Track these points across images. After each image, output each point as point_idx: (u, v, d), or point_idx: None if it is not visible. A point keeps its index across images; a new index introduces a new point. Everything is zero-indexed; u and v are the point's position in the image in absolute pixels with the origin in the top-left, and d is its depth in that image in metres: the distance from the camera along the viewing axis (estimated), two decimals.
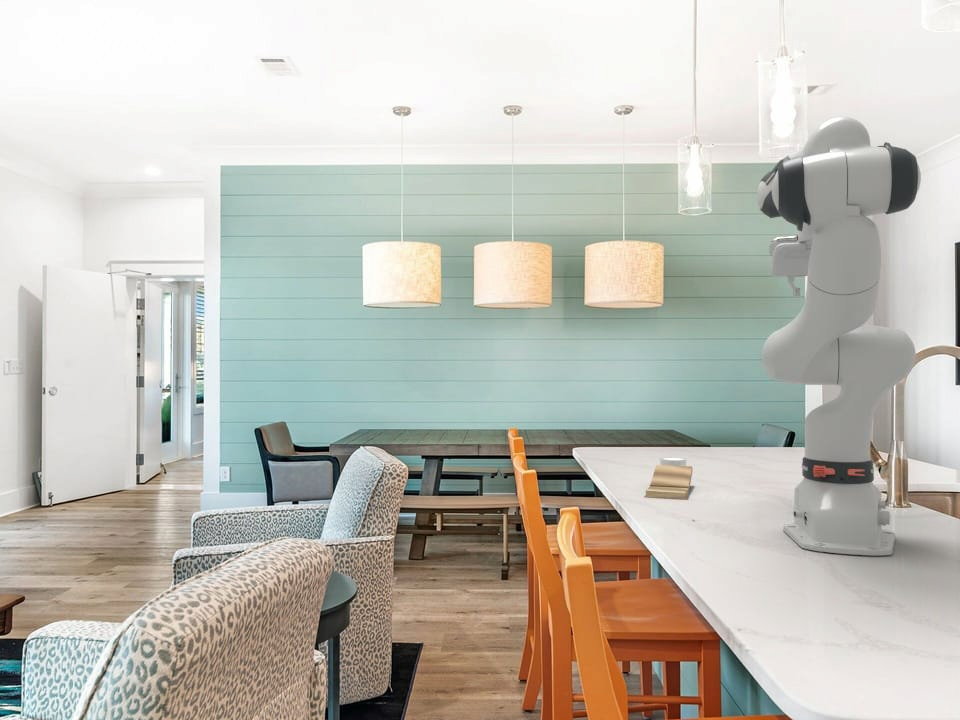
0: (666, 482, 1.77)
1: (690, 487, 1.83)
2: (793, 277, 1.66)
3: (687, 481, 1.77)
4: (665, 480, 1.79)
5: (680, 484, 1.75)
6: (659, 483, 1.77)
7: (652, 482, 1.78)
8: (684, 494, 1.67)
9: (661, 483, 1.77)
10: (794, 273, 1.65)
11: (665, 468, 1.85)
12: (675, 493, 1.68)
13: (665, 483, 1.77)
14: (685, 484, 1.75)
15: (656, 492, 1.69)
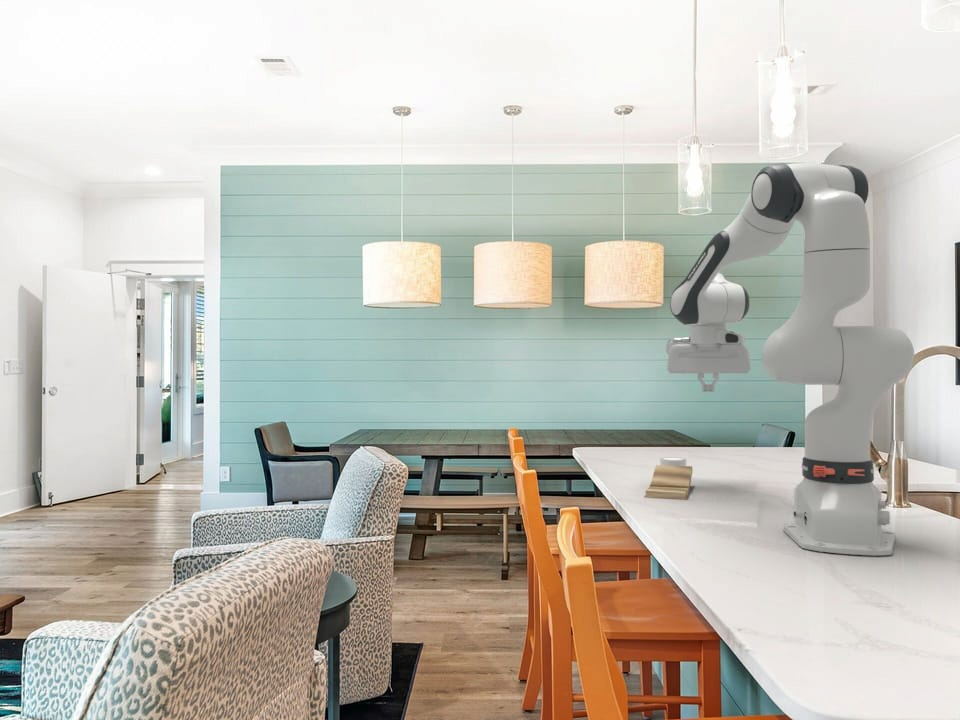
0: (666, 482, 1.77)
1: (690, 487, 1.83)
2: (702, 375, 1.84)
3: (687, 481, 1.77)
4: (665, 480, 1.79)
5: (680, 484, 1.75)
6: (659, 483, 1.77)
7: (652, 482, 1.78)
8: (684, 494, 1.67)
9: (661, 483, 1.77)
10: (686, 372, 1.85)
11: (665, 468, 1.85)
12: (675, 493, 1.68)
13: (665, 483, 1.77)
14: (685, 484, 1.75)
15: (656, 492, 1.69)
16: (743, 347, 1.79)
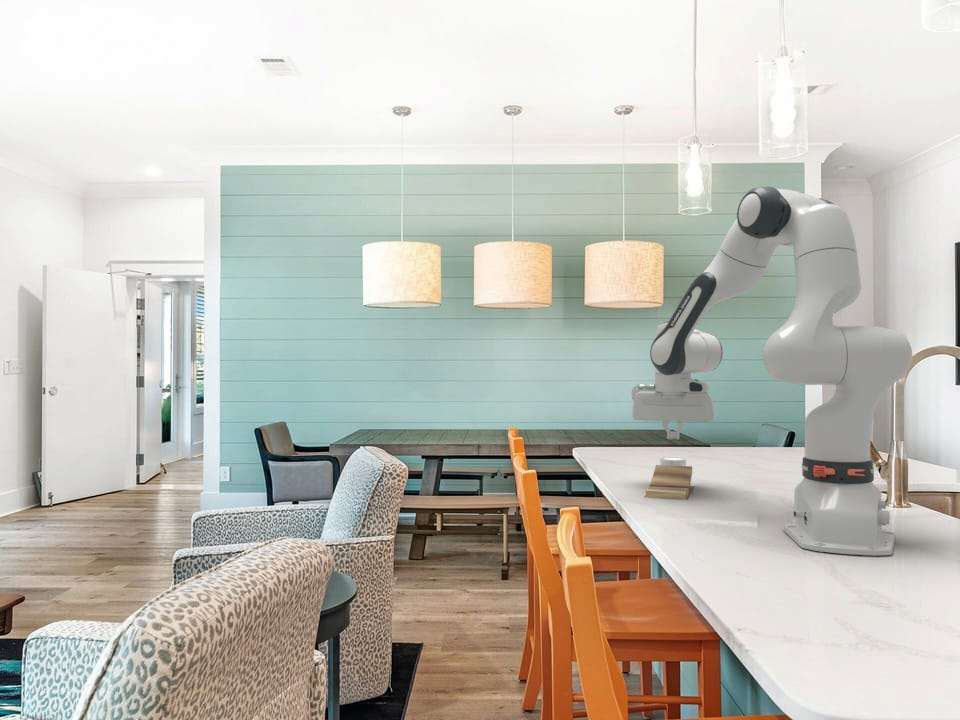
0: (666, 482, 1.77)
1: (690, 487, 1.83)
2: (667, 422, 1.84)
3: (687, 481, 1.77)
4: (665, 480, 1.79)
5: (680, 484, 1.75)
6: (659, 483, 1.77)
7: (652, 482, 1.78)
8: (684, 494, 1.67)
9: (661, 483, 1.77)
10: (651, 419, 1.85)
11: (665, 468, 1.85)
12: (675, 493, 1.68)
13: (665, 483, 1.77)
14: (685, 484, 1.75)
15: (656, 492, 1.69)
16: (707, 396, 1.79)
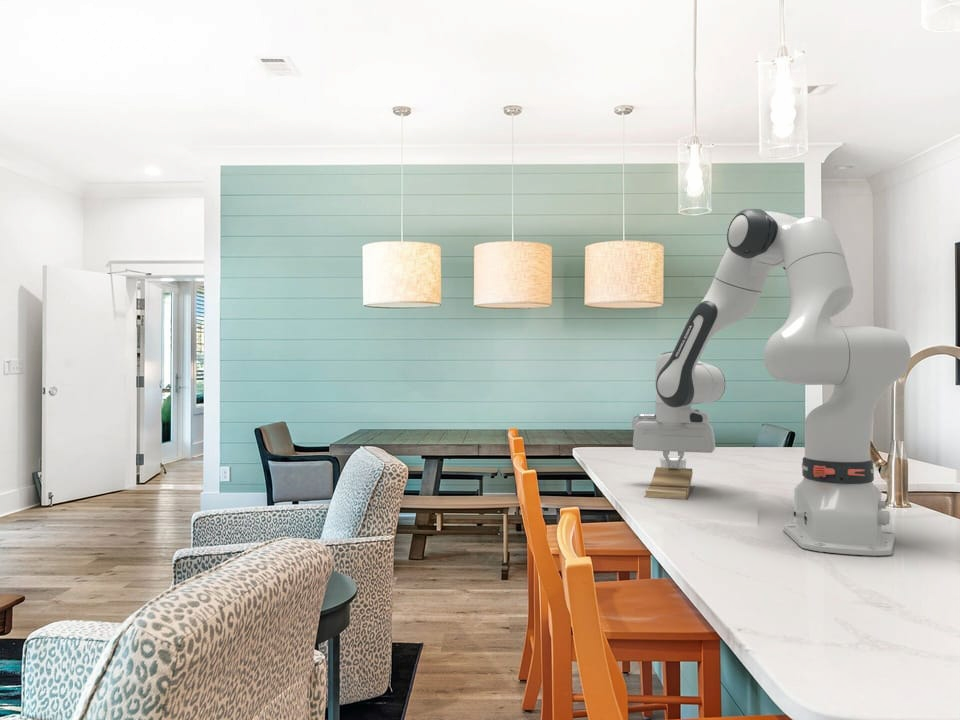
0: (666, 482, 1.77)
1: (690, 487, 1.83)
2: (667, 452, 1.84)
3: (687, 482, 1.77)
4: (665, 480, 1.79)
5: (680, 484, 1.76)
6: (659, 483, 1.77)
7: (652, 482, 1.78)
8: (684, 494, 1.67)
9: (661, 483, 1.77)
10: (651, 449, 1.85)
11: (665, 470, 1.85)
12: (675, 493, 1.68)
13: (665, 483, 1.77)
14: (685, 484, 1.75)
15: (656, 492, 1.69)
16: (707, 427, 1.79)
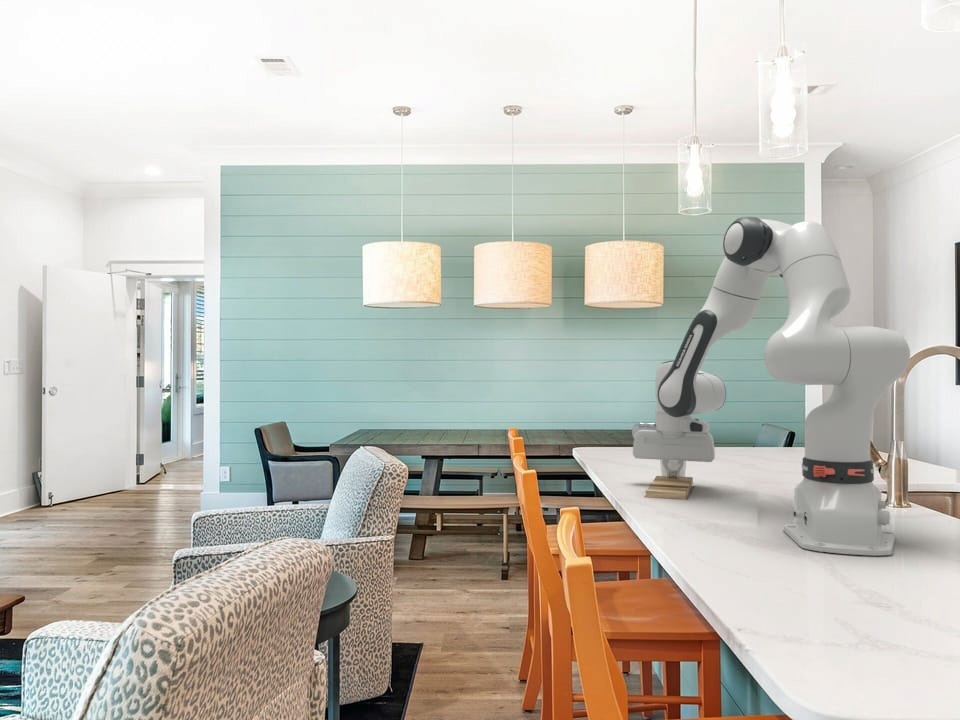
0: (666, 484, 1.78)
1: None
2: (667, 461, 1.85)
3: (687, 484, 1.77)
4: (665, 483, 1.79)
5: (680, 485, 1.76)
6: (659, 484, 1.78)
7: (652, 484, 1.79)
8: (684, 494, 1.67)
9: (661, 484, 1.77)
10: (651, 457, 1.85)
11: (665, 477, 1.85)
12: (675, 493, 1.68)
13: (665, 484, 1.77)
14: (685, 485, 1.76)
15: (656, 492, 1.69)
16: (707, 436, 1.80)
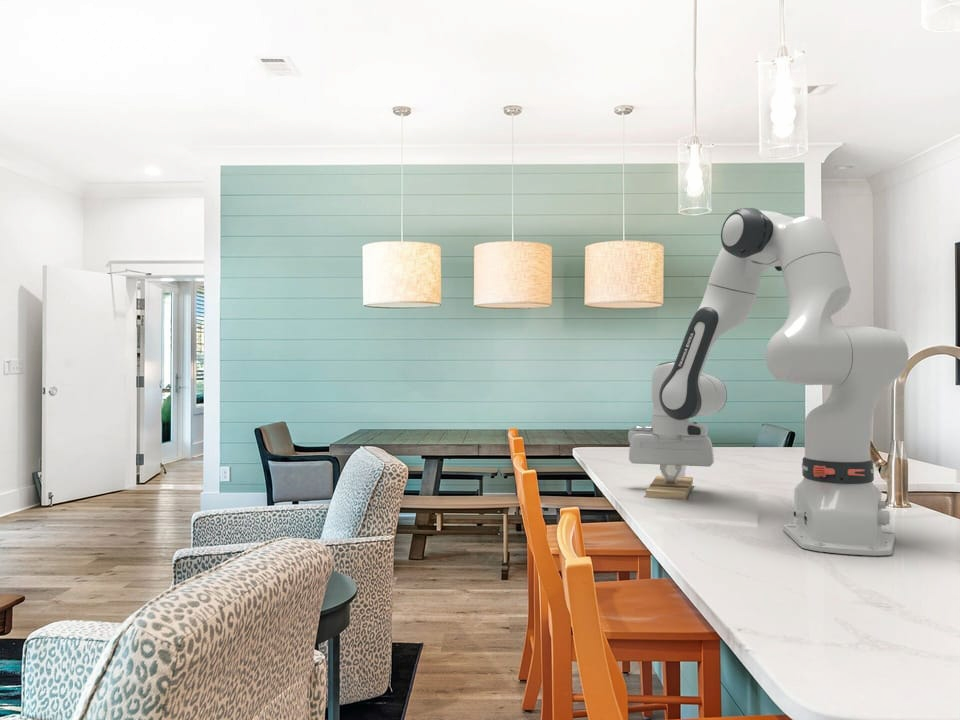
0: (667, 484, 1.78)
1: None
2: (664, 466, 1.78)
3: (687, 484, 1.77)
4: (665, 483, 1.79)
5: (680, 485, 1.76)
6: (659, 484, 1.78)
7: (652, 484, 1.79)
8: (684, 494, 1.67)
9: (661, 484, 1.77)
10: (648, 462, 1.79)
11: None
12: (675, 493, 1.68)
13: (665, 484, 1.77)
14: (685, 485, 1.76)
15: (656, 492, 1.69)
16: (706, 440, 1.74)
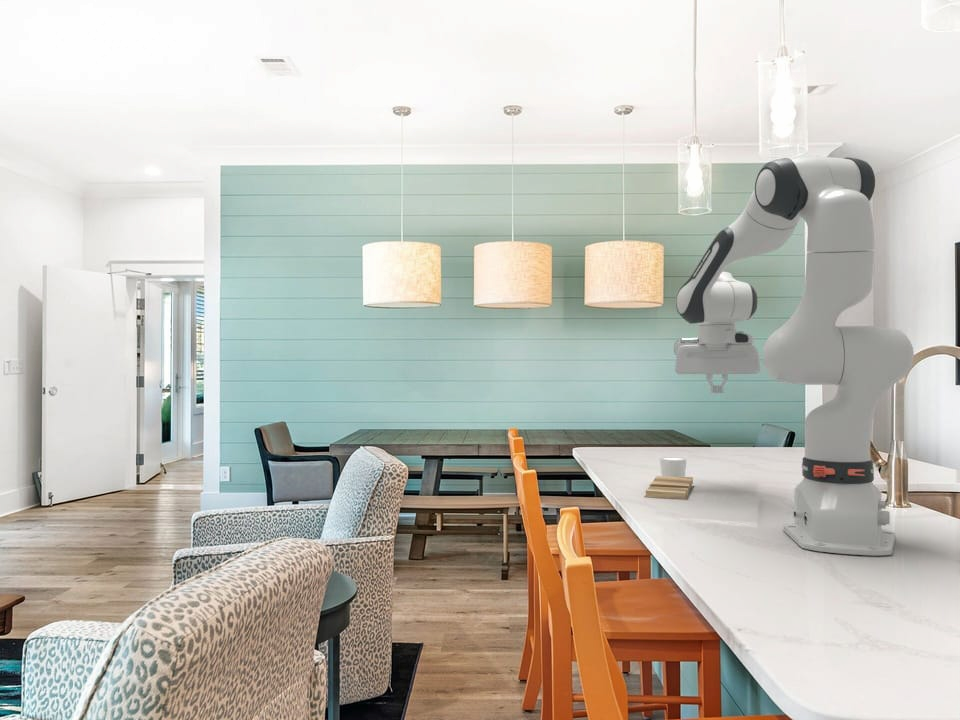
0: (667, 484, 1.78)
1: None
2: (711, 376, 1.81)
3: (687, 484, 1.77)
4: (665, 483, 1.79)
5: (680, 485, 1.76)
6: (659, 484, 1.78)
7: (652, 484, 1.79)
8: (684, 494, 1.67)
9: (661, 484, 1.77)
10: (695, 372, 1.82)
11: (665, 477, 1.85)
12: (675, 493, 1.68)
13: (665, 484, 1.77)
14: (685, 485, 1.76)
15: (656, 492, 1.69)
16: (753, 347, 1.76)
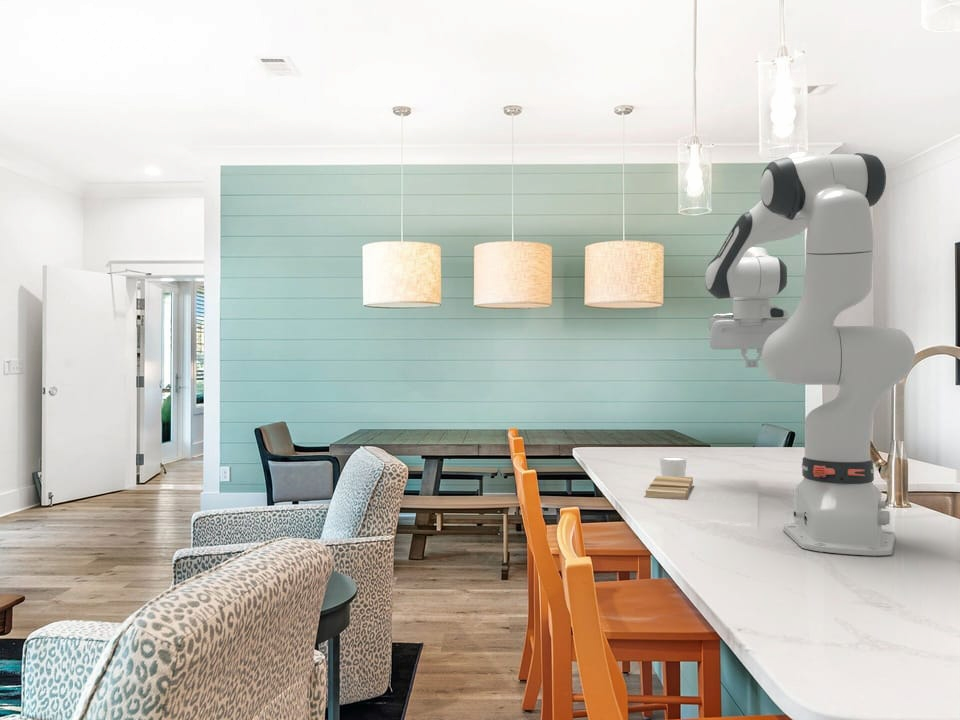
0: (667, 484, 1.78)
1: None
2: (746, 350, 1.83)
3: (687, 484, 1.77)
4: (665, 483, 1.79)
5: (680, 485, 1.76)
6: (659, 484, 1.78)
7: (652, 484, 1.79)
8: (684, 494, 1.67)
9: (661, 484, 1.77)
10: (729, 347, 1.84)
11: (665, 477, 1.85)
12: (675, 493, 1.68)
13: (665, 484, 1.77)
14: (685, 485, 1.76)
15: (656, 492, 1.69)
16: None
